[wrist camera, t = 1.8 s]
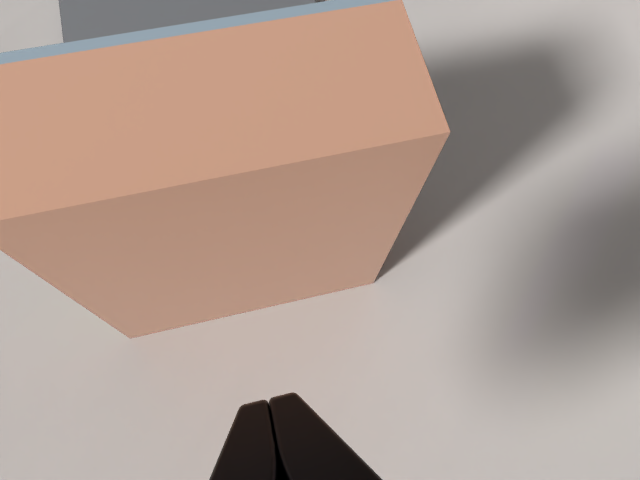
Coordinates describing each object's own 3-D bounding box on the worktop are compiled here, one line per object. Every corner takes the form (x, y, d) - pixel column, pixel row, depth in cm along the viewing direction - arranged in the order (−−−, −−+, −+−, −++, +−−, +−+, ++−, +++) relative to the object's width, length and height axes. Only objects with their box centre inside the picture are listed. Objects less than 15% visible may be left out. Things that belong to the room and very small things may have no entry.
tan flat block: (373, 283, 24) (450, 132, 12) (130, 338, 22) (-34, 227, 11) (348, 197, 25) (397, -11, 14) (117, 245, 24) (-41, 59, 12)
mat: (364, 172, 25) (365, 165, 25) (89, 227, 24) (84, 221, 23) (293, -61, 30) (293, -71, 29) (59, -28, 28) (54, -38, 28)
